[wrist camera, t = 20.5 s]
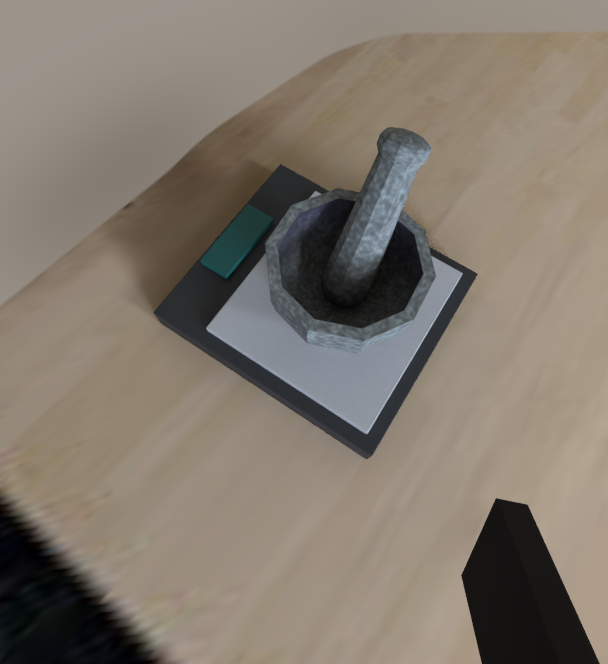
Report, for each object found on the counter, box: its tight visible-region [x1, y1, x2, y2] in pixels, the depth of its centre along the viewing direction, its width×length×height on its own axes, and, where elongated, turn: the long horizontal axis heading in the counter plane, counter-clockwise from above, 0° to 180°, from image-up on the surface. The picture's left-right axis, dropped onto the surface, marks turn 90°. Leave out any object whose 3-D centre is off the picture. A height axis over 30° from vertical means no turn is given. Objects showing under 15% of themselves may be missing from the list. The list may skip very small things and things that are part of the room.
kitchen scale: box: [154, 164, 477, 459], centre depth 34 cm, size 18×16×3 cm
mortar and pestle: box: [265, 127, 436, 353], centre depth 27 cm, size 11×9×12 cm
